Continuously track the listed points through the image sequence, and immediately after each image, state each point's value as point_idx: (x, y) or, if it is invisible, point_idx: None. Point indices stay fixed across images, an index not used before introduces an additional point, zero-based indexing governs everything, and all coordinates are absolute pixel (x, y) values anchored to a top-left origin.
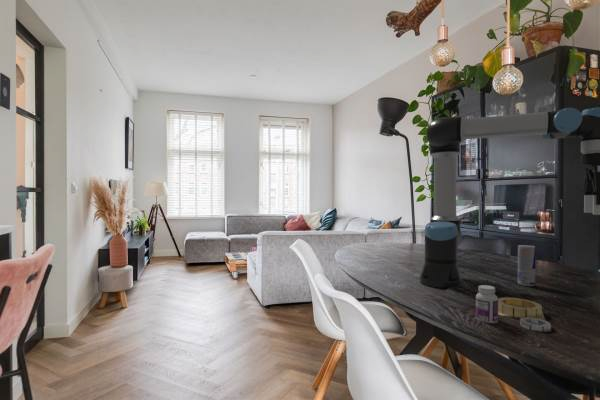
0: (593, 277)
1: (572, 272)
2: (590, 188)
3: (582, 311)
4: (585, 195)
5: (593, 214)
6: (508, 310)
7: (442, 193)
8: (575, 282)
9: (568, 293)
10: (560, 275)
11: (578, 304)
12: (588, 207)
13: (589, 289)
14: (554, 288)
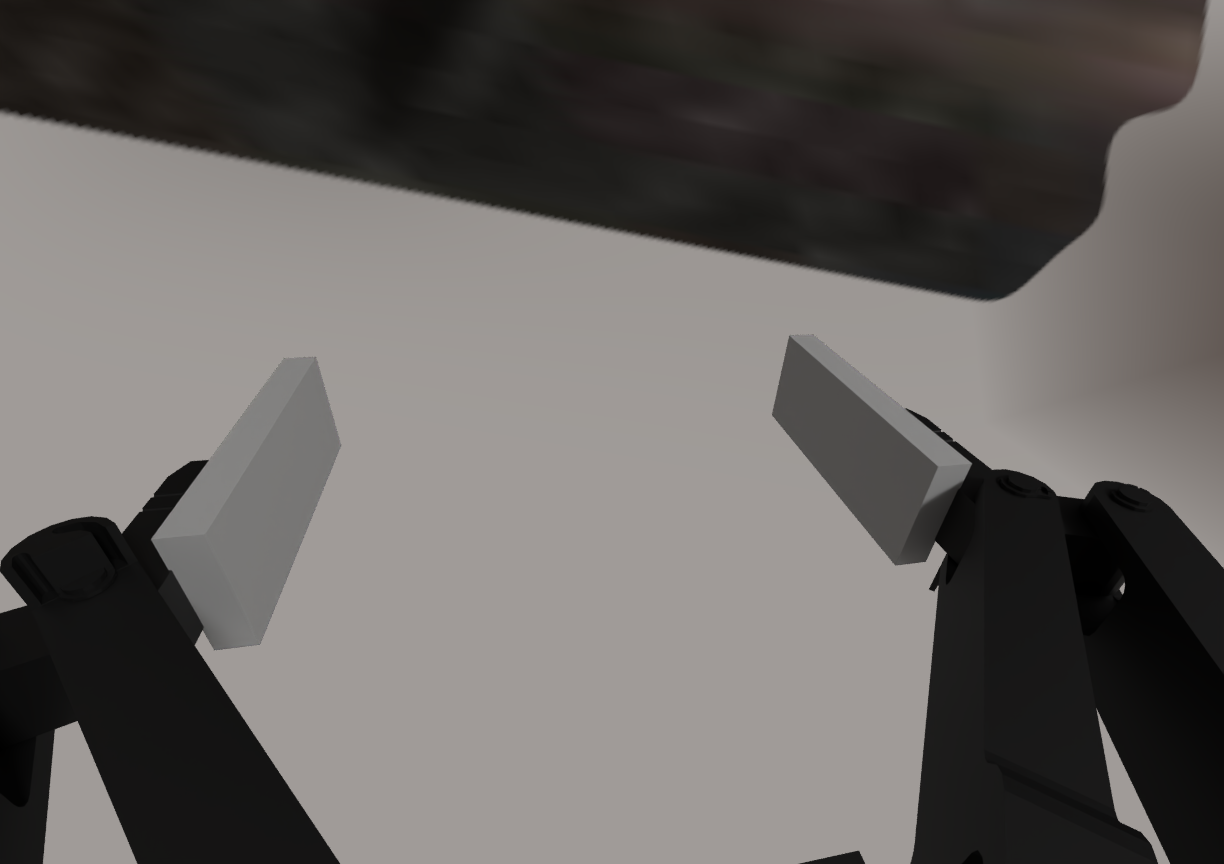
0: (862, 274)
1: (963, 200)
2: (953, 624)
3: (11, 61)
4: (930, 470)
5: (282, 360)
6: None
7: None
8: (718, 166)
9: (415, 71)
10: (877, 118)
11: (169, 73)
12: (811, 402)
13: (579, 203)
14: (503, 7)
